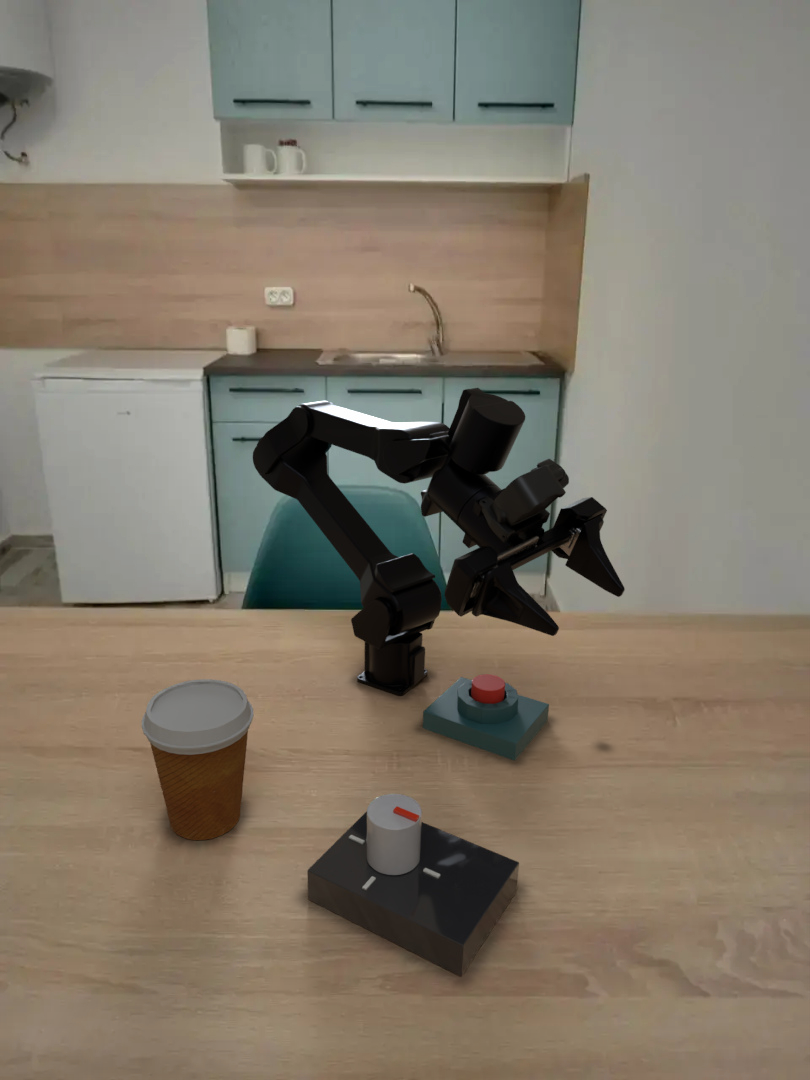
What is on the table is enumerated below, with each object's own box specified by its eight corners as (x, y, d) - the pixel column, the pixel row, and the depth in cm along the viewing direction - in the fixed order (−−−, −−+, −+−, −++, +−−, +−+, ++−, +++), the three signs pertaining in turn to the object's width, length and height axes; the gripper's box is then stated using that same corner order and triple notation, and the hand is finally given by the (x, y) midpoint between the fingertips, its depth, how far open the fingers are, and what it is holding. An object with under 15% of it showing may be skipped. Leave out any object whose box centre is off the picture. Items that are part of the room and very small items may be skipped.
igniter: (422, 728, 91) (423, 696, 89) (460, 693, 98) (461, 663, 97) (514, 761, 85) (517, 728, 84) (547, 721, 93) (550, 689, 91)
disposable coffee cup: (164, 866, 70) (153, 746, 66) (142, 801, 78) (130, 690, 74) (272, 833, 74) (267, 718, 70) (240, 774, 82) (235, 668, 78)
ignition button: (465, 698, 90) (466, 684, 89) (480, 684, 93) (480, 670, 92) (495, 708, 88) (496, 694, 87) (509, 693, 91) (510, 679, 90)
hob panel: (307, 899, 67) (306, 868, 66) (374, 829, 75) (375, 800, 74) (461, 977, 60) (463, 944, 59) (516, 891, 68) (519, 860, 67)
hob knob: (355, 861, 67) (356, 813, 65) (384, 830, 71) (385, 783, 69) (402, 883, 65) (403, 833, 63) (429, 850, 68) (432, 802, 67)
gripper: (424, 475, 73) (546, 593, 65) (566, 419, 83) (686, 516, 75) (402, 561, 81) (510, 675, 73) (534, 501, 91) (641, 595, 83)
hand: (590, 612), depth 76 cm, fingers open, 9 cm apart
